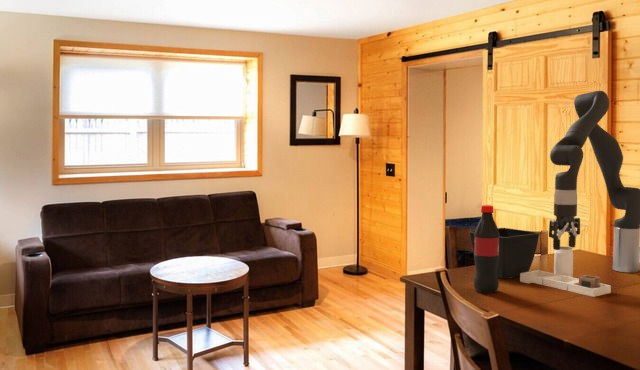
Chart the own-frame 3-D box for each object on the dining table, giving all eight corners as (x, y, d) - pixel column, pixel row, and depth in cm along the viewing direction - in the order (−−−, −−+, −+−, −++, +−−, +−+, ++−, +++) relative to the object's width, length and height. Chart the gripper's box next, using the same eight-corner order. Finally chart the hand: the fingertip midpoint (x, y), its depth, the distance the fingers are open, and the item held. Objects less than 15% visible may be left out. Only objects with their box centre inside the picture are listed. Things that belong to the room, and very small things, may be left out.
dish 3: (584, 289, 215) (585, 280, 215) (610, 294, 207) (610, 285, 207) (567, 292, 210) (568, 283, 210) (593, 299, 202) (593, 289, 202)
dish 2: (560, 283, 224) (560, 274, 223) (583, 288, 215) (584, 279, 215) (543, 287, 218) (543, 278, 218) (566, 292, 210) (566, 283, 210)
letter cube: (585, 289, 212) (585, 274, 212) (599, 291, 208) (600, 276, 208) (578, 291, 209) (578, 276, 208) (593, 294, 205) (593, 279, 204)
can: (574, 282, 226) (574, 249, 225) (555, 281, 227) (556, 249, 226) (570, 278, 232) (571, 246, 231) (552, 277, 233) (553, 246, 232)
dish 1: (537, 278, 232) (537, 269, 232) (559, 283, 224) (559, 274, 224) (520, 281, 227) (520, 273, 226) (542, 286, 219) (542, 277, 218)
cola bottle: (499, 289, 216) (500, 204, 213) (498, 295, 208) (499, 206, 205) (474, 287, 218) (475, 203, 216) (472, 293, 210) (473, 206, 208)
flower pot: (467, 272, 242) (468, 230, 240) (502, 267, 251) (503, 226, 250) (503, 282, 225) (504, 237, 224) (539, 276, 235) (540, 233, 233)
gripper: (568, 200, 222) (567, 244, 223) (543, 202, 214) (542, 248, 215) (587, 202, 215) (586, 248, 217) (562, 204, 208) (560, 252, 209)
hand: (564, 248), depth 216 cm, fingers open, 8 cm apart
